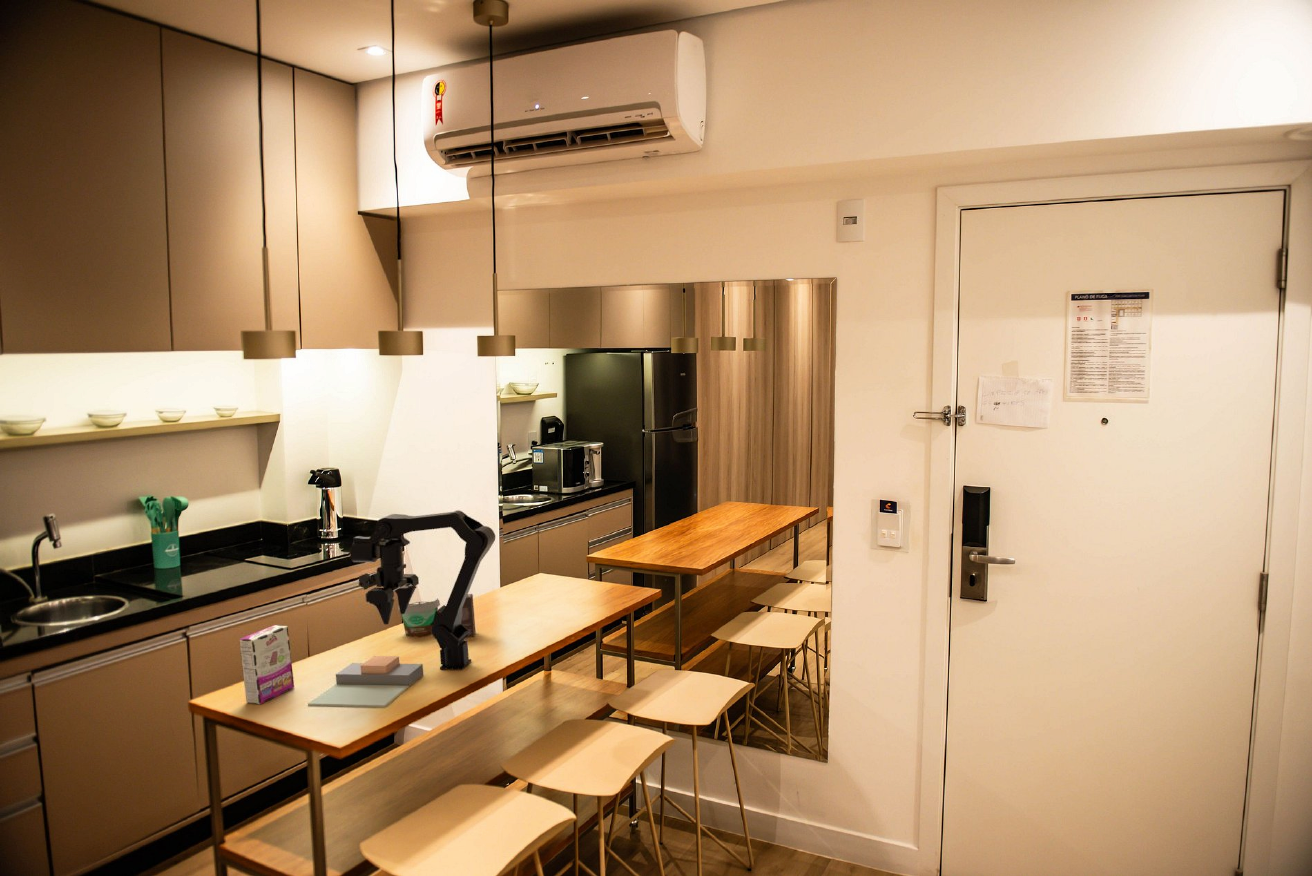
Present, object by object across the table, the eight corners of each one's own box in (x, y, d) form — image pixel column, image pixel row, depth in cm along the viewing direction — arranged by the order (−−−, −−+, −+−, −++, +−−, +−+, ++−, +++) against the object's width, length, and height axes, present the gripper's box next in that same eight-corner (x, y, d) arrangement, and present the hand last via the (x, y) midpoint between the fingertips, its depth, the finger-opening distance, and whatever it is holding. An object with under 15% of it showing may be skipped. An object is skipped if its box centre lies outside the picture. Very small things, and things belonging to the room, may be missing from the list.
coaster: (399, 663, 218) (398, 656, 218) (386, 673, 211) (385, 665, 211) (374, 663, 219) (374, 655, 219) (361, 673, 212) (360, 665, 212)
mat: (408, 687, 209) (408, 685, 209) (384, 707, 197) (384, 705, 197) (335, 686, 212) (335, 684, 212) (308, 705, 201) (308, 703, 201)
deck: (423, 675, 217) (422, 663, 217) (409, 686, 209) (408, 675, 209) (353, 674, 221) (352, 663, 220) (336, 685, 213) (335, 674, 213)
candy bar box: (280, 686, 215) (274, 624, 213) (295, 688, 213) (289, 625, 211) (244, 703, 204) (238, 638, 203) (259, 705, 202) (253, 639, 201)
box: (475, 632, 251) (473, 593, 250) (474, 636, 247) (471, 597, 246) (455, 633, 251) (452, 594, 250) (453, 638, 246) (450, 598, 245)
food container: (399, 640, 247) (397, 608, 246) (400, 634, 253) (397, 602, 252) (442, 635, 250) (440, 602, 249) (442, 629, 256) (439, 597, 255)
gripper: (381, 553, 233) (383, 608, 234) (345, 570, 215) (348, 629, 216) (418, 554, 231) (420, 609, 232) (385, 571, 213) (388, 630, 214)
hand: (394, 619), depth 224 cm, fingers open, 9 cm apart
